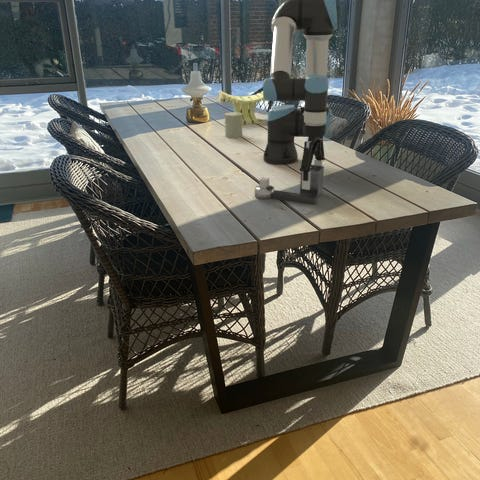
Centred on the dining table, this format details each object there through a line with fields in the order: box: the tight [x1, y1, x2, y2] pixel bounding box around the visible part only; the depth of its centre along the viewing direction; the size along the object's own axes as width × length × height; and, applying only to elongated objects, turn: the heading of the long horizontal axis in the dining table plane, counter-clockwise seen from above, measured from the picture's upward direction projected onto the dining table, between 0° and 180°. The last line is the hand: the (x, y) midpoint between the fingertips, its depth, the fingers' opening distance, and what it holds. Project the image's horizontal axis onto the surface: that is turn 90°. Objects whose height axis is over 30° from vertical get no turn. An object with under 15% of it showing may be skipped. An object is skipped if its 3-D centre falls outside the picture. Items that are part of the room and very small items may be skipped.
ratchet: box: [254, 176, 318, 206], centre depth 172 cm, size 7×22×6 cm, turn 65°
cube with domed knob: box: [299, 164, 325, 199], centre depth 174 cm, size 6×6×10 cm
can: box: [224, 111, 243, 139], centre depth 256 cm, size 9×9×12 cm
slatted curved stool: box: [218, 89, 271, 125], centre depth 288 cm, size 30×16×18 cm, turn 100°
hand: (311, 183), depth 175 cm, fingers open, 13 cm apart
